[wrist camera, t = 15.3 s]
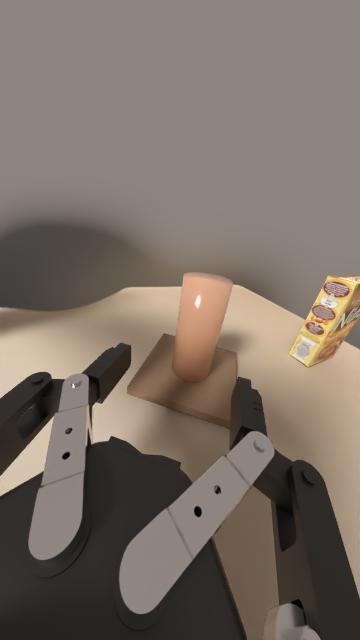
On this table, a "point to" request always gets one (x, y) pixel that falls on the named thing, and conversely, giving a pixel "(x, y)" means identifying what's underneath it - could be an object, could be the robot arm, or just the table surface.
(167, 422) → the table surface
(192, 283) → the orange tan cylinder
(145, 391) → the walnut pad
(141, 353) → the table surface
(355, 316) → the candy box
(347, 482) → the table surface
